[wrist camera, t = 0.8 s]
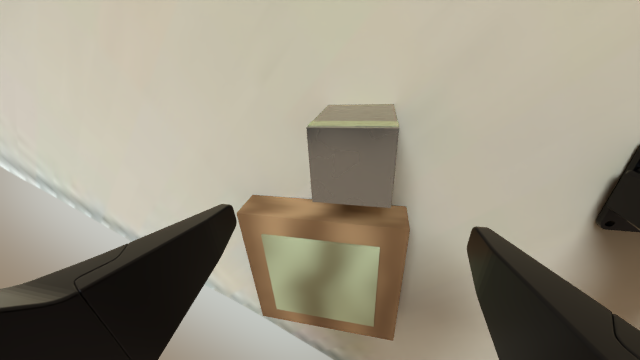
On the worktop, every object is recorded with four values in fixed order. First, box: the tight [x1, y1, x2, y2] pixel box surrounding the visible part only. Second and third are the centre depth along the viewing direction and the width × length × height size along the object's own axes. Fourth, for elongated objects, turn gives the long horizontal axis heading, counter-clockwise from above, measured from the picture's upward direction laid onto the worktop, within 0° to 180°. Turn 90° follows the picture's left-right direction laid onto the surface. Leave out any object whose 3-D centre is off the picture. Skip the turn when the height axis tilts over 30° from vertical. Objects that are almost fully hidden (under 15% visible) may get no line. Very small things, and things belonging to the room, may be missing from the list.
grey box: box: [307, 104, 399, 208], centre depth 16 cm, size 5×5×6 cm
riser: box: [237, 195, 410, 341], centre depth 24 cm, size 14×14×3 cm
